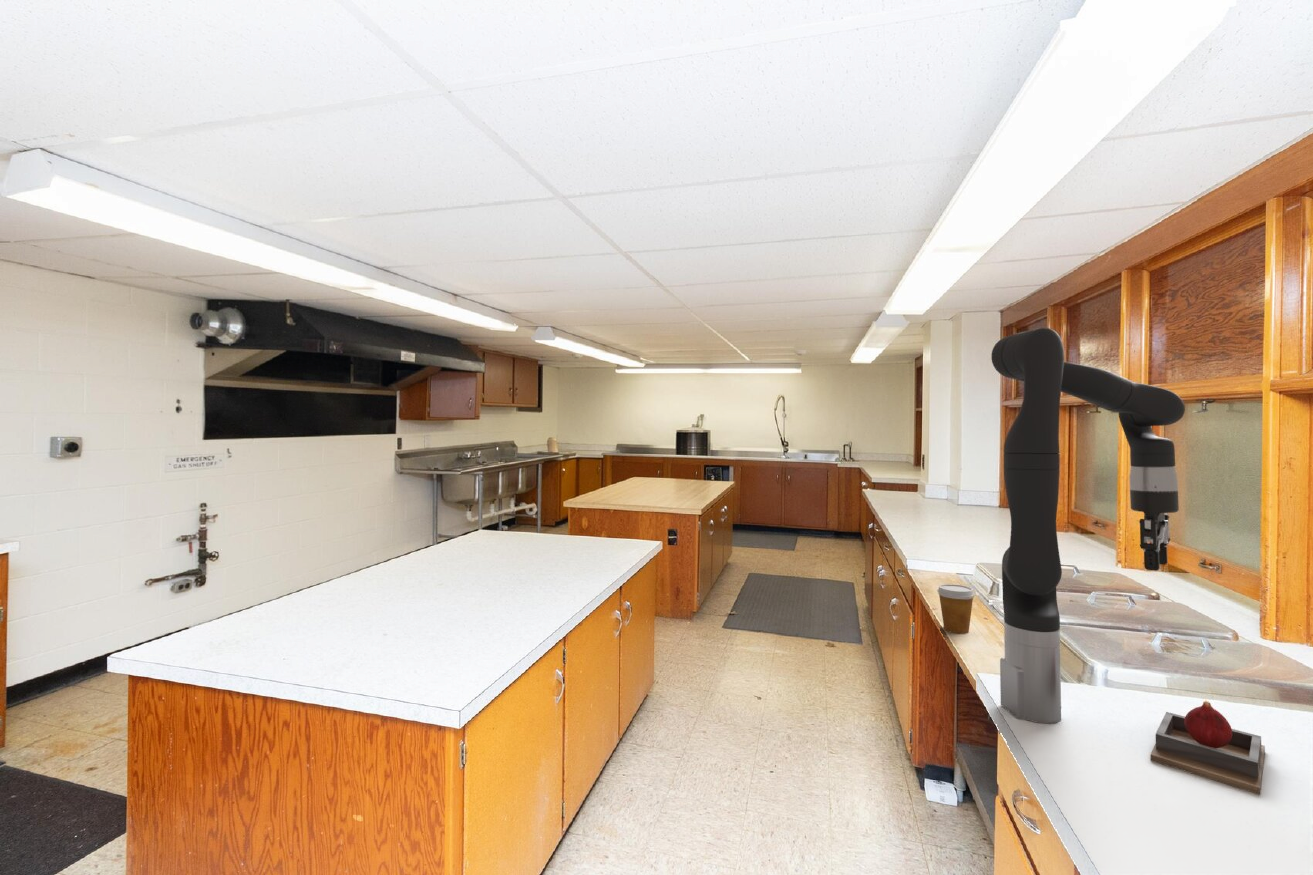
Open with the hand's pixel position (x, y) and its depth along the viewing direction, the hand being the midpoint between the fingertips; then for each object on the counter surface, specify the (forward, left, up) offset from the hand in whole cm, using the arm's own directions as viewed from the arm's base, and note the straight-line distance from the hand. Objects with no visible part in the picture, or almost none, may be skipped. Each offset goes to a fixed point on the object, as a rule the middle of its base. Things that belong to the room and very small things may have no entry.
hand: (1156, 566), depth 118 cm
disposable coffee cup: (-20, +45, -28) cm, 56 cm away
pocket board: (-9, -21, -28) cm, 36 cm away
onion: (-9, -21, -27) cm, 35 cm away
